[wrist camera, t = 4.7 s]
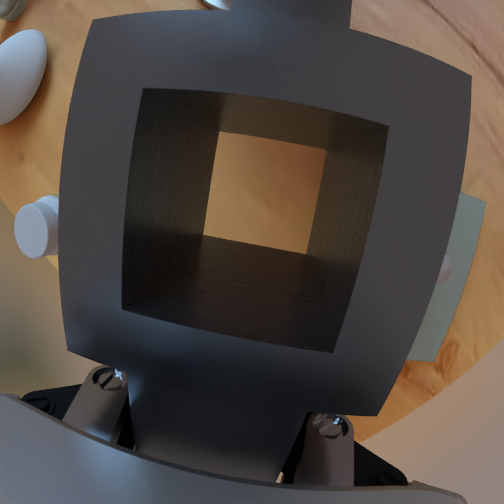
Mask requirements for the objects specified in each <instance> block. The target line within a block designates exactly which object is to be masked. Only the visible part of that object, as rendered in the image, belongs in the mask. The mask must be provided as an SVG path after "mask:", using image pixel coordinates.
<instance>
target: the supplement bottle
mask: <svg viewBox="0 0 504 504" xmlns="http://www.w3.org/2000/svg"><path fill="white" fill-rule="evenodd" d="M58 206H59V194H53V195H48V196H44V197H42V198H40V199H39V200H38V201H37V202H35V203H31V204H27V205H25V206H23V207H22V208H21V209H20V210H19V211H18V213H17V215H16V218H15V223H14V232H15V238H16V241H17V244H18V246H19V248H20V250H21V251H22V252H23V253H24V254H25V255H26V256H27V257H29V258H32V259H37V258H40V257H43V256H47V255H58Z"/></svg>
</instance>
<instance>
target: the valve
mask: <svg viewBox="0 0 504 504" xmlns="http://www.w3.org/2000/svg"><path fill="white" fill-rule="evenodd" d="M25 4H26V0H0V19H3V20H6V21H15V20H16V19H17V18H18V16H19V15H20V14H21V13H22V12H23V11H24V9H25Z"/></svg>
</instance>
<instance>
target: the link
mask: <svg viewBox="0 0 504 504" xmlns="http://www.w3.org/2000/svg"><path fill="white" fill-rule="evenodd" d="M351 5H352V0H233V3H232V7H231V11H230V10H171V11H155V12H144V13H135V14H126V15H119V16H113V17H106V18H101V19H95V20H93V21H92V24H91V27H90V30H89V33H88V36H87V39H86V42H85V46H84V49H83V52H82V56H81V60H80V63H79V67H78V71H77V75H76V79H75V84H74V88H73V93H72V98H71V103H70V108H69V113H68V119H67V125H66V132H65V139H64V146H63V154H62V164H61V174H60V187H59V206H58V261H59V278H60V279H59V281H60V294H61V305H62V313H63V322H64V330H65V336H66V343H67V350H68V351H70V352H72V353H75V354H77V355H80V356H82V357H85V358H88V359H90V360H93V361H95V362H98V363H101V364H104V365H106V366H109V367H112V368H115V369H118V370H121V371H124V372H127V382H128V393H129V403H130V412H131V420H132V427H133V435H134V441H135V448H136V452H139V453H142V454H145V455H148V456H151V457H154V458H158V459H161V460H164V461H168V462H171V463H175V464H179V465H182V466H186V467H190V468H194V469H199V470H203V471H207V472H212V473H217V474H222V475H227V476H233V477H239V478H245V479H251V480H258V481H266V482H274V483H275V482H276V480H277V478H278V476H279V474H280V472H281V470H282V468H283V466H284V464H285V462H286V459H287V457H288V455H289V453H290V451H291V449H292V447H293V444H294V442H295V440H296V438H297V435H298V433H299V431H300V428H301V426H302V424H303V421H304V419H305V417H306V414H307V412H315V413H325V414H338V415H353V416H377V415H378V413H379V412H380V410H381V408H382V406H383V405H384V403H385V401H386V399H387V397H388V395H389V393H390V391H391V389H392V388H393V386H394V384H395V382H396V380H397V378H398V376H399V373H400V371H401V369H402V367H403V365H404V363H405V361H406V359H407V356H408V354H409V352H410V350H411V348H412V345H413V343H414V341H415V338H416V336H417V333H418V331H419V329H420V326H421V324H422V321H423V319H424V316H425V313H426V311H427V308H428V305H429V303H430V300H431V297H432V294H433V291H434V288H435V285H436V282H437V279H438V276H439V273H440V270H441V267H442V263H443V260H444V257H445V253H446V249H447V246H448V242H449V238H450V235H451V231H452V227H453V222H454V218H455V214H456V209H457V204H458V200H459V195H460V189H461V184H462V178H463V172H464V166H465V159H466V151H467V143H468V134H469V123H470V109H471V83H472V76H471V75H469V74H467V73H465V72H463V71H461V70H459V69H457V68H455V67H453V66H451V65H449V64H447V63H444V62H442V61H440V60H438V59H436V58H433V57H431V56H429V55H426V54H424V53H421V52H419V51H416V50H414V49H411V48H408V47H406V46H403V45H400V44H398V43H395V42H392V41H389V40H386V39H383V38H380V37H376V36H373V35H370V34H367V33H363V32H360V31H356V30H352V29H349V26H350V16H351ZM219 131H221V132H228V133H236V134H243V135H249V136H256V137H262V138H268V139H274V140H279V141H285V142H290V143H295V144H300V145H305V146H310V147H315V148H320V149H324V150H327V153H326V158H325V164H324V169H323V174H322V180H321V185H320V190H319V195H318V200H317V205H316V210H315V215H314V220H313V225H312V229H311V234H310V239H309V243H308V248H307V252H306V254H302V253H296V252H291V251H286V250H280V249H275V248H270V247H265V246H259V245H254V244H249V243H243V242H238V241H233V240H227V239H222V238H216V237H211V236H206V235H203V233H204V225H205V218H206V211H207V204H208V197H209V191H210V184H211V178H212V171H213V165H214V159H215V153H216V147H217V141H218V135H219Z"/></svg>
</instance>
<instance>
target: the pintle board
mask: <svg viewBox="0 0 504 504" xmlns="http://www.w3.org/2000/svg"><path fill="white" fill-rule="evenodd" d="M485 206H486V202H485V201H482V200H480V199H477V198H475V197H472V196H469V195H467V194H464V193H461V192H460V195H459V200H458V204H457V209H456V214H455V218H454V222H453V227H452V231H451V235H450V238H449V242H448V246H447V249H446V253H445V257H444V260H443V263H442V267H441V270H440V273H439V276H438V279H437V282H436V285H435V288H434V291H433V294H432V297H431V300H430V303H429V305H428V308H427V311H426V313H425V316H424V319H423V321H422V324H421V326H420V329H419V331H418V333H417V336H416V338H415V341H414V343H413V345H412V348H411V350H410V352H409V354H408V356H407V359H406V360H414V361H430V362H434V360H435V358H436V356H437V354H438V351H439V349H440V347H441V345H442V342H443V340H444V338H445V336H446V333H447V331H448V328H449V326H450V323H451V321H452V318H453V316H454V313H455V311H456V308H457V305H458V303H459V300H460V297H461V294H462V291H463V288H464V285H465V282H466V279H467V276H468V273H469V270H470V266H471V263H472V260H473V256H474V252H475V249H476V245H477V241H478V237H479V233H480V229H481V225H482V220H483V215H484V211H485Z"/></svg>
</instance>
